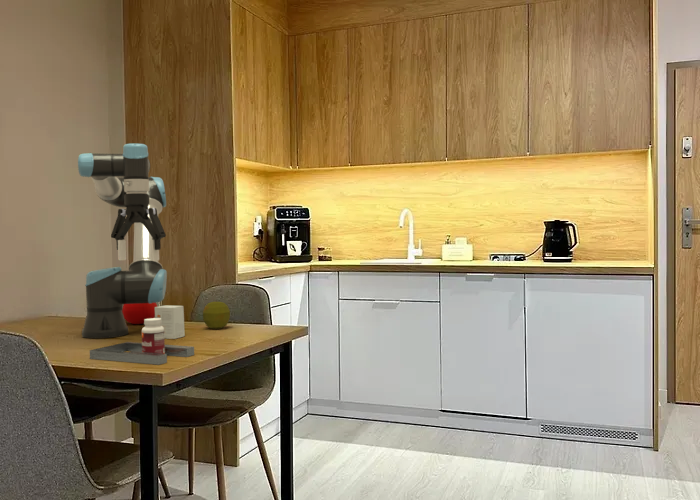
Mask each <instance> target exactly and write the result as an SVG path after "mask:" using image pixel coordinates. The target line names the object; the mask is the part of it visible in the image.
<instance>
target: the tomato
mask: <svg viewBox="0 0 700 500" xmlns="http://www.w3.org/2000/svg"><path fill="white" fill-rule="evenodd" d="M155 307H158V305H157V302H156V303H151V304H149V303H138V304H122V312H123V315H124V318H125V322H127V323H129V324H131V325H142V324H143V325H144V319H150V318H155Z"/></svg>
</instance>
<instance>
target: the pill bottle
mask: <svg viewBox="0 0 700 500" xmlns="http://www.w3.org/2000/svg"><path fill="white" fill-rule="evenodd" d="M160 324H161V318H155V317H154V318H150V319H144V323H143V325H144V327H142V329H141V343H142V352H150V353H163V354H165V345H166V344H165V341H166V340H165V338H164V328H163V327H162V326H161V325H160Z"/></svg>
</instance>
